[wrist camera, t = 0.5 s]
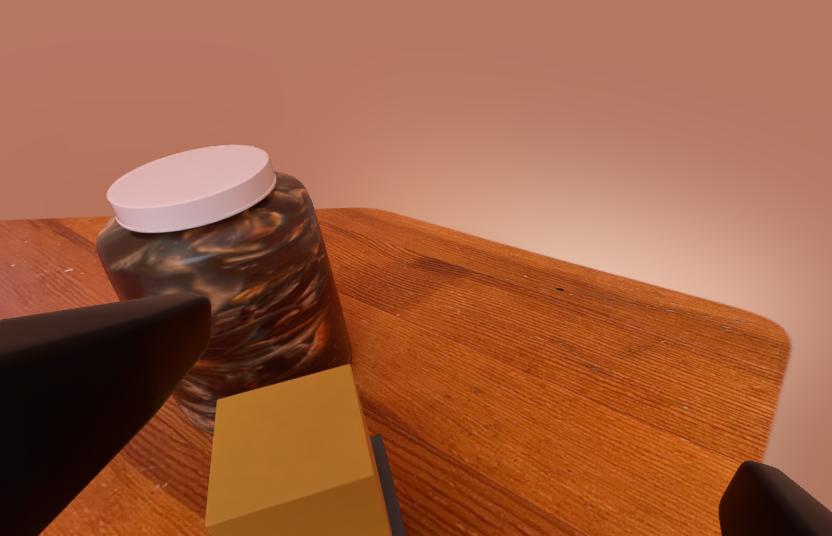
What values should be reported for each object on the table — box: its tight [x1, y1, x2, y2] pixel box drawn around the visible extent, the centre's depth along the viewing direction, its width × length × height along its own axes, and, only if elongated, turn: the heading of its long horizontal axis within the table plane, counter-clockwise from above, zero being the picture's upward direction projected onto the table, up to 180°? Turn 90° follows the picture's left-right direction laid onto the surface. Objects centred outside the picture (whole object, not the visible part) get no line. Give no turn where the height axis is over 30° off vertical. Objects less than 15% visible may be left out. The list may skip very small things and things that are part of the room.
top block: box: [205, 364, 392, 536], centre depth 18 cm, size 5×5×5 cm
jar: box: [97, 145, 352, 434], centre depth 31 cm, size 12×12×15 cm
